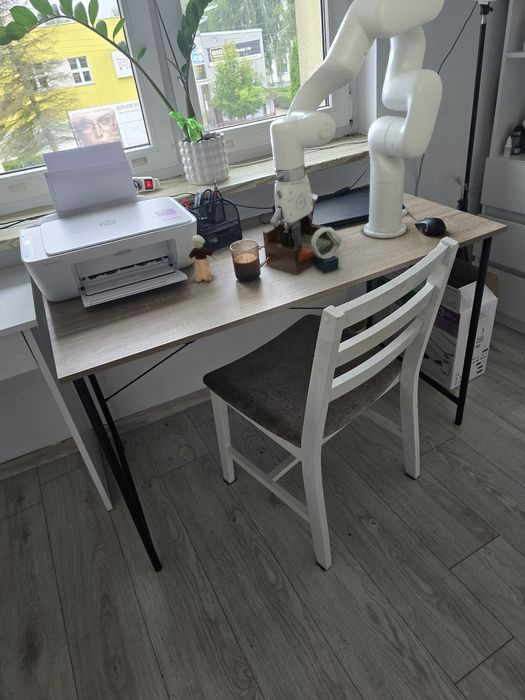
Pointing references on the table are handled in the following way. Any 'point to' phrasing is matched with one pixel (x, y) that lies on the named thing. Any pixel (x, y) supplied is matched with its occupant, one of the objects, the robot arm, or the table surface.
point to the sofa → (294, 250)
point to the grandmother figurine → (201, 259)
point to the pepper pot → (295, 235)
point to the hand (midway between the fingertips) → (296, 238)
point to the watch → (327, 259)
